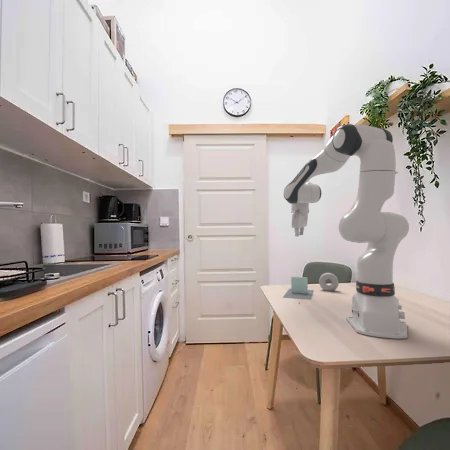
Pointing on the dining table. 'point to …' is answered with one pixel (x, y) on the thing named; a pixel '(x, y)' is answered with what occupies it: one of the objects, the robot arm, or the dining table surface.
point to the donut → (331, 277)
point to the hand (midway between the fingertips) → (299, 235)
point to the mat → (299, 295)
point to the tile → (299, 285)
